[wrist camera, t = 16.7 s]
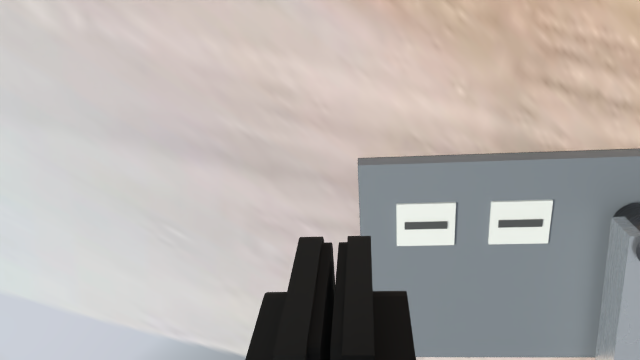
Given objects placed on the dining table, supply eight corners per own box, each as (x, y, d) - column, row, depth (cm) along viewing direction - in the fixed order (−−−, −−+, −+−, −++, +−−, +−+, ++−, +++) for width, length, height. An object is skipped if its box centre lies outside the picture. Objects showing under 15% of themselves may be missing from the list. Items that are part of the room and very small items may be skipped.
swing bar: (606, 204, 38) (635, 234, 34) (664, 200, 37) (701, 230, 33) (582, 422, 46) (603, 466, 42) (629, 421, 46) (655, 466, 42)
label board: (661, 147, 38) (675, 156, 36) (621, 345, 45) (631, 360, 43) (357, 158, 40) (357, 166, 38) (365, 345, 47) (365, 359, 45)
